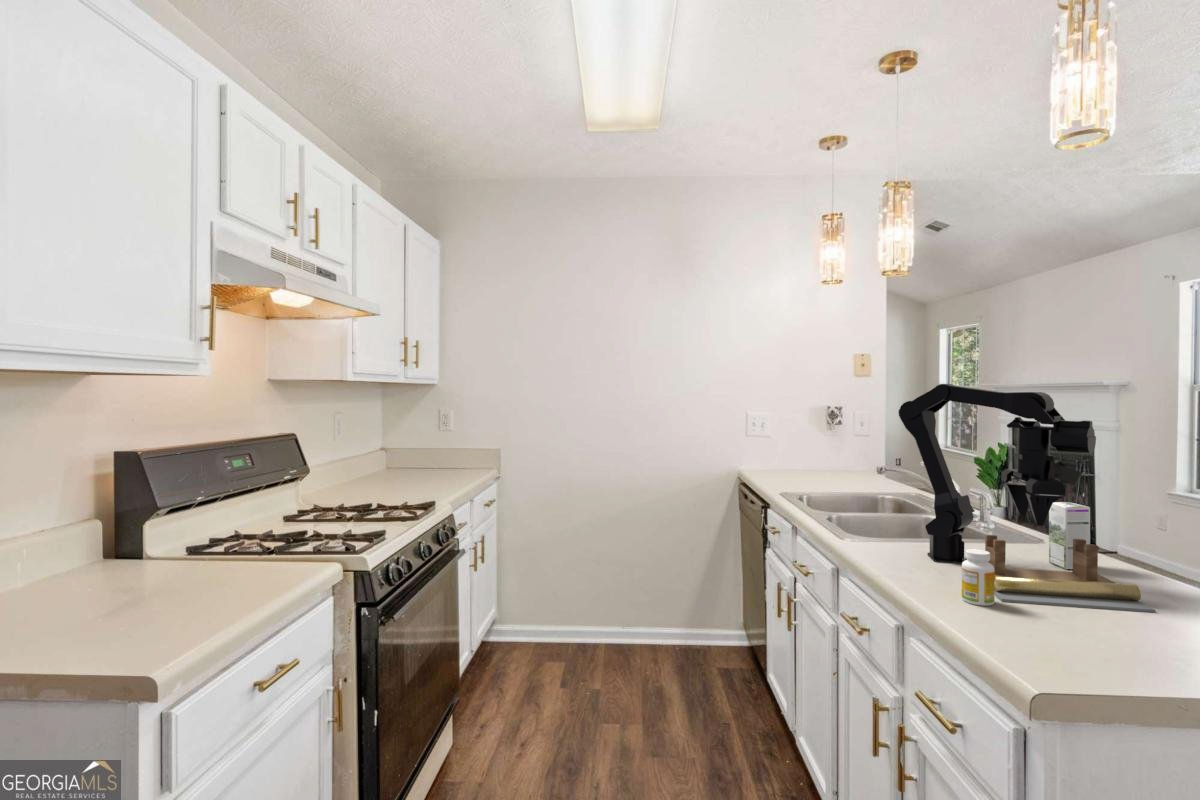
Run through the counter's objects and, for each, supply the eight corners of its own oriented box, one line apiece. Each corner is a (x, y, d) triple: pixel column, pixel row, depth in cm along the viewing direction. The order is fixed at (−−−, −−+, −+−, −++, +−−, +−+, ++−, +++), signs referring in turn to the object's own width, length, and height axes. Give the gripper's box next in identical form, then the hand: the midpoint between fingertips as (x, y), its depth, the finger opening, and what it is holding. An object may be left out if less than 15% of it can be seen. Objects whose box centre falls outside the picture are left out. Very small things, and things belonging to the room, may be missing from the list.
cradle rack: (980, 579, 132) (980, 540, 132) (969, 570, 139) (969, 533, 139) (1116, 588, 126) (1116, 547, 126) (1097, 577, 133) (1098, 539, 133)
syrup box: (1091, 570, 139) (1092, 506, 138) (1065, 570, 139) (1065, 506, 138) (1072, 563, 144) (1073, 501, 144) (1047, 563, 144) (1047, 501, 144)
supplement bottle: (989, 598, 120) (990, 549, 120) (997, 607, 115) (998, 556, 115) (958, 595, 122) (958, 547, 122) (965, 604, 117) (965, 553, 116)
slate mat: (1001, 601, 118) (1001, 598, 118) (982, 585, 128) (982, 583, 128) (1155, 612, 112) (1155, 609, 112) (1123, 594, 122) (1123, 592, 122)
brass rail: (997, 593, 121) (998, 578, 121) (992, 588, 124) (992, 573, 124) (1140, 603, 116) (1141, 587, 116) (1131, 597, 119) (1131, 582, 119)
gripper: (1099, 456, 122) (1096, 533, 122) (1057, 446, 140) (1055, 514, 140) (1034, 453, 125) (1032, 529, 125) (1001, 444, 143) (999, 511, 143)
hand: (1031, 520), depth 134 cm, fingers open, 9 cm apart
